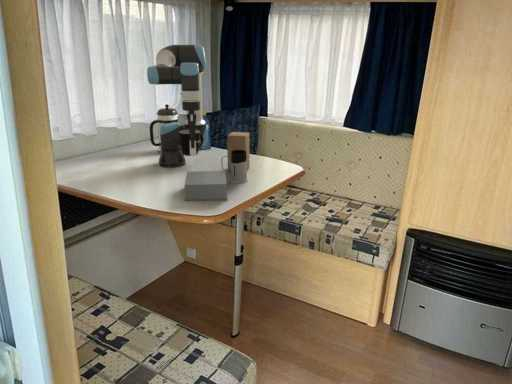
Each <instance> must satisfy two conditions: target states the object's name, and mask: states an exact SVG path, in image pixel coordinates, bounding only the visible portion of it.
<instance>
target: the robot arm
mask: <svg viewBox="0 0 512 384" xmlns="http://www.w3.org/2000/svg"><path fill="white" fill-rule="evenodd" d="M155 62H156V63H155V65H152V66H148V67H147V68H146V73H147V75H146V76H147V81H148V83H149V84H150V85H181V92H180V93H179V94H180V96H181V100H182V101H181V106H182V107H181V108H182V110H183V111H185V112H186V120H185V121H184V124H181V122H179V121H178V122H173V123H167V124H164V125H162V126H161V127H160V139H161V149H160V155H159V159H158V166H160V167H162V168H177V167H182V166H183V167H184V166H186V163H187V162H186V161H187V160H186V157H185V155H183V153H182V150H181V146H180V139H179V131H181V130H189V136H190V138H189V139H188V141H189V143H190V155H194V156H197V155H196V138H195V130H198V131H200V134H201V135H202V136H203V144H202V145H206V143H207V137H208V125H206V122H205V121H204V120H203V112H202V110H203V90H202V89H203V88H202V86H203V85H202V84H203V83H202V75H203V74H204V73H205V69H207V60H206V54H205V48H204V47H203V45H200V44H199V45H198V44H171V45H167V46H165V47H163V48H161V49H160V50H159V51H158V52H157V54H156V58H155ZM200 144H201V137H200Z"/></svg>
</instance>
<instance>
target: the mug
mask: <svg viewBox="0 0 512 384" xmlns="http://www.w3.org/2000/svg"><path fill="white" fill-rule="evenodd" d="M200 137H201V144H200ZM189 138H190V136H189V130H181V131H179V139H180V146H181V150H182V153H183V155H184V156H188V157H191V156H192V157H193V156H197V155H198V154H199V151H200V149H199V148H200V147H201V146H202V144H203V136H202V135H201V134H200V131H198V130H195V138H196V155H190V143H189V141H188V139H189Z"/></svg>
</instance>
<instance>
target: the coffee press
mask: <svg viewBox="0 0 512 384" xmlns="http://www.w3.org/2000/svg"><path fill="white" fill-rule="evenodd" d="M156 115H157V120H156V119H155V120H153V121H151V122H150V125H149V138H150V139H149V140H150V143H151V145H153V146H154V147H159V148H158V149H157V151H158V152H160V153H161V139H160V127H161V126H162V125H164V124H167V123H173V122H179V119H178V117H179V113H178V111H177V109H175V108H174V107H170V105H169V103H168V104H167V103H166V104H165V105H164V108H159V109H158V111H157V112H156ZM155 124H157V129H158V131H157V132H158V143H157V142H155V140H154V125H155Z"/></svg>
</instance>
